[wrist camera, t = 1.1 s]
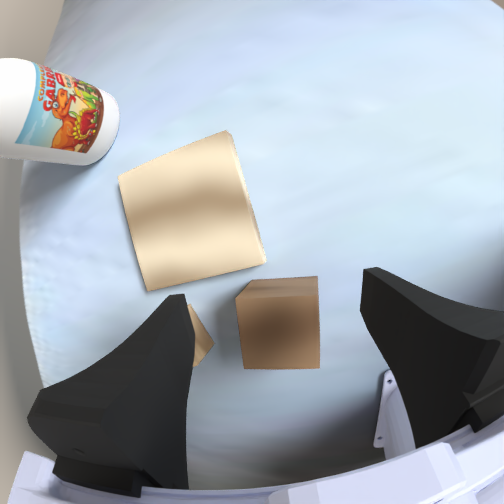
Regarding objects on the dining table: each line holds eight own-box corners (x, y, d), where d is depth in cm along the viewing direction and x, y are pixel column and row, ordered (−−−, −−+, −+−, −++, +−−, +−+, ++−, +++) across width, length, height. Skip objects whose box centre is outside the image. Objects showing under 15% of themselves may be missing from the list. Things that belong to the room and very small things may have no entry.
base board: (266, 260, 22) (263, 263, 21) (156, 286, 25) (147, 291, 23) (231, 134, 21) (225, 130, 20) (127, 177, 24) (117, 176, 22)
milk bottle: (90, 182, 25) (-103, 182, 5) (59, 139, 25) (-98, 122, 6) (136, 116, 23) (-66, 51, 3) (99, 81, 23) (-60, 23, 4)
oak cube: (214, 343, 24) (197, 365, 20) (180, 357, 25) (161, 379, 22) (190, 303, 24) (168, 319, 20) (157, 321, 25) (134, 337, 21)
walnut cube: (319, 336, 22) (319, 368, 17) (258, 338, 23) (243, 368, 19) (317, 275, 22) (317, 295, 17) (252, 279, 23) (235, 298, 18)
